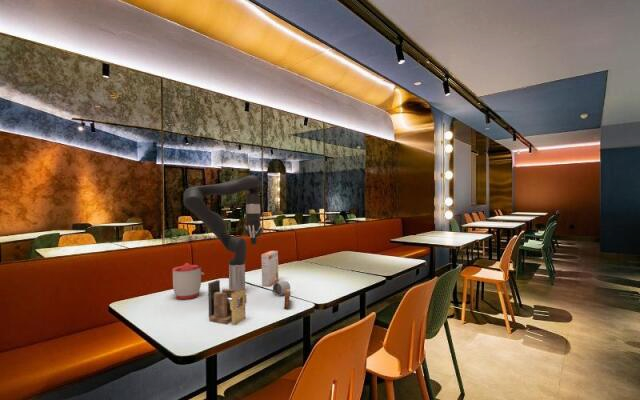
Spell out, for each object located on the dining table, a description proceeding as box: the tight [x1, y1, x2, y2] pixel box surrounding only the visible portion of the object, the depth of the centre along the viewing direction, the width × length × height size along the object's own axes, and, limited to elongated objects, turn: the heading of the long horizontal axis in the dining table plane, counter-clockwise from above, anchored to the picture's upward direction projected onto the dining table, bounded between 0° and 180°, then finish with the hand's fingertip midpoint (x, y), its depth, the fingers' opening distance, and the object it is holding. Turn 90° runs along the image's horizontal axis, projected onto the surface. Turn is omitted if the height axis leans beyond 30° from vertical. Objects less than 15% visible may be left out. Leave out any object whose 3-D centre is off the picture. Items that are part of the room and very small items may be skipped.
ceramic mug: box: [272, 280, 291, 297], centre depth 187 cm, size 11×8×8 cm
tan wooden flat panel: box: [230, 288, 248, 326], centre depth 146 cm, size 2×10×14 cm, turn 157°
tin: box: [283, 287, 291, 309], centre depth 167 cm, size 15×3×8 cm, turn 5°
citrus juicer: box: [172, 262, 205, 301], centre depth 184 cm, size 16×17×20 cm
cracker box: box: [260, 250, 280, 287], centre depth 209 cm, size 14×6×21 cm, turn 163°
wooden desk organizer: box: [207, 279, 242, 318], centre depth 148 cm, size 16×6×16 cm, turn 67°
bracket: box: [208, 288, 235, 325], centre depth 149 cm, size 10×10×13 cm
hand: (253, 244), depth 169 cm, fingers closed
